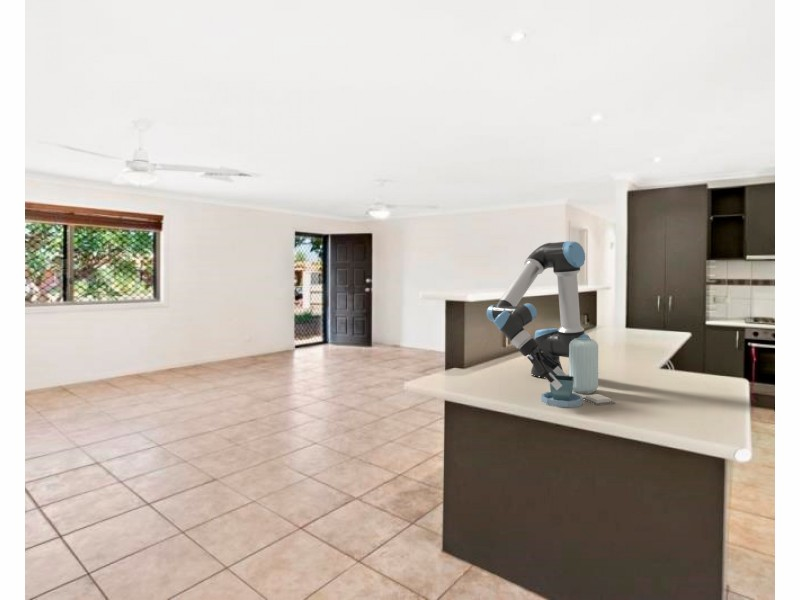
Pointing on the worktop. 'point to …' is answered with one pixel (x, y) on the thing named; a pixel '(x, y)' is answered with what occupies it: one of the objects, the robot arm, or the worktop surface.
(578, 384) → the vase
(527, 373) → the worktop surface
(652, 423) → the worktop surface
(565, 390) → the flower pot
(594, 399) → the mat with cloth
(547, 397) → the dish
